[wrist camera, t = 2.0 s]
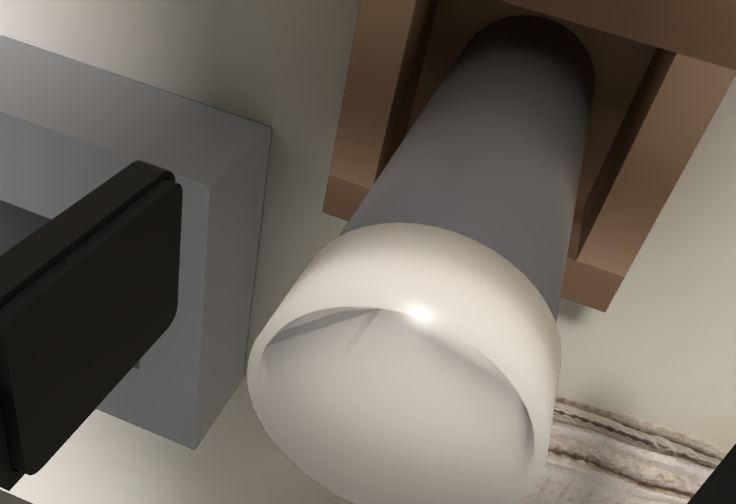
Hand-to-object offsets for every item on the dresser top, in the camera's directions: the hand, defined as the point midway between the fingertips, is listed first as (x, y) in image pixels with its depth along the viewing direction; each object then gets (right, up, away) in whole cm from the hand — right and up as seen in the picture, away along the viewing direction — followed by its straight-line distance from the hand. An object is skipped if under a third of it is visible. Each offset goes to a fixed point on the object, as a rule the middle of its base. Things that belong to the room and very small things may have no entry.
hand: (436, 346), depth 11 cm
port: (-10, +2, +15) cm, 19 cm away
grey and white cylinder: (+3, +6, +7) cm, 10 cm away
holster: (+3, +6, +8) cm, 10 cm away
